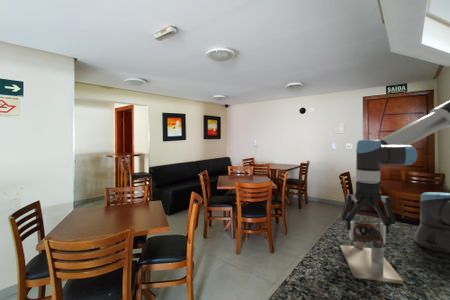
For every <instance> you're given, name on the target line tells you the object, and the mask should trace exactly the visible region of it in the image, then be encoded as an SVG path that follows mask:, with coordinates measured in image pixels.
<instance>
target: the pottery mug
mask: <svg viewBox="0 0 450 300" xmlns="http://www.w3.org/2000/svg"><path fill="white" fill-rule="evenodd" d="M359 221H360V220H359ZM357 228H358V229H359V231H360V234H361V235H359V234H357V233H356V229H357ZM352 241H353V243H354V242H356V241H358V242H363V243H364V244H365V243H371V242H377V241H379V243H381V244H382V246H384V244H385V243H383V239H382V237H381V235H380V230H379V229H378V228H377V227H375V226H374V225H373V224H371V223H369V222H364V221H360V222H358V224H357V225H355V224H354V225H353V240H352Z"/></svg>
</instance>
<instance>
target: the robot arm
mask: <svg viewBox="0 0 450 300" xmlns="http://www.w3.org/2000/svg"><path fill="white" fill-rule="evenodd" d="M449 128H450V100H449V101H446V102H445V103H443V104H440V105H439V106H437V107H434V108H432V109H431V110H430V111H429V113H428V114H427V115H425V116H422V117H421V118H419V119H417V120H415V121H412V122H411V123H409V124H407V125H405V126H403V127H401V128H399V129H397V130H396V131H394V132H392V133H390V134H388V135H386V136H384V137H382V138H380V139H360V140H358V141H357V144H356V151H355V152H356V163H355V164H356V166H355V167H356V168H355V169H356V171H355V174H356V175H355V179H356V181H355V193H354V194H349V193H346V195H345V196H346V197H345V198H346V200H345V203H344V206H343V209H342V211H341V214H340V218H341V219H342V221H345V222H346V223H345V228H346V230H347V231H348V237H349V239H350V240H351V241H354V240H353V228H354V222H353V220H354V219H355V217H356V215H357V214H358V212H359V211H360V209H362V207H369V208H370V207H371V208H374V210H375V212H376V213H377V214H378V216H379V218H380V220H381V221H382V222H380V224H379V225H380V227H379V228H380V230H379V231H380V235H381V237H382V239H383V244H386V240H387V239H386V236H387V235H388V234H389V232H390V227H391V225H395V224H396V220H395V217H394V214H393V210H392V207H391V198H390V196H389V197H388V196H387V195H384V196H383V195H381V183H380V181H381V166H403V167H404V166H411V165H413V164H414V163H416V161H417V160H418V152H417V149H416V148H415V147H414V146H412V144H414V143H416V142H418V141H420V140H422V139H424V138H426V137H428V136H430V135H432V134H434V133H435V132H438V131H441V129H442V130H447V129H449ZM354 199H356V202H355V204H354V206H353V207H352V206H351V205H352V202H353V201H354ZM380 201H381V202H382V204H383V207H384V210H385V212H386V216H387V218H386V216H385V214H384V212H383V211H382V209H381V207H380V205H379V204H378V203H379V202H380ZM351 207H352V209H351V210H350V208H351ZM419 215H420V216H419V226H418V228H417V229H416V231H415V233H414V242H415V243H417V244H418V245H419V246H421V247H423V248H426V249H429V250H432V251H436V252H439V253H444V254H450V192H440V191H439V192H438V191H435V192H434V191H433V192H432V191H429V192H427V191H426V192H423V193H421V195H420V200H419Z"/></svg>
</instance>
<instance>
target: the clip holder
mask: <svg viewBox="0 0 450 300" xmlns="http://www.w3.org/2000/svg"><path fill="white" fill-rule="evenodd" d="M358 222H360V220H356V221H355V223H354V226H355V225H357V224H358ZM356 233H357V234H359V235H361V234H360V231H359V229H358V228H357V229H356ZM353 243H354V244H353V245H344V244H343V245H341V244H340V245H339V249H340V251H341V253H342V255H343V257H344V259H345V261H346V263H347V265H348V267H349V269H350V271H351V273H352V275H353V277H354V278H356V279H363V280H372V281H379V282H383V283H384V282H386V283H391V284H394V283H395V284H401V285H404V280H403V278H402V277H401V276H400V275H399V274H398V272H397V271H396V270H395V269H394V267H392V265H391V263H390V262H388V260H387V259H386V258H385V255H384V251H385V250H384V247H383V245H382V243H381V242H380V241H379V242H378V241H376V242H374V241H372V244H371V246H370V247H365V246H364V245H365V243H363V242H358V241H356V242H354V241H353Z"/></svg>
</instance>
